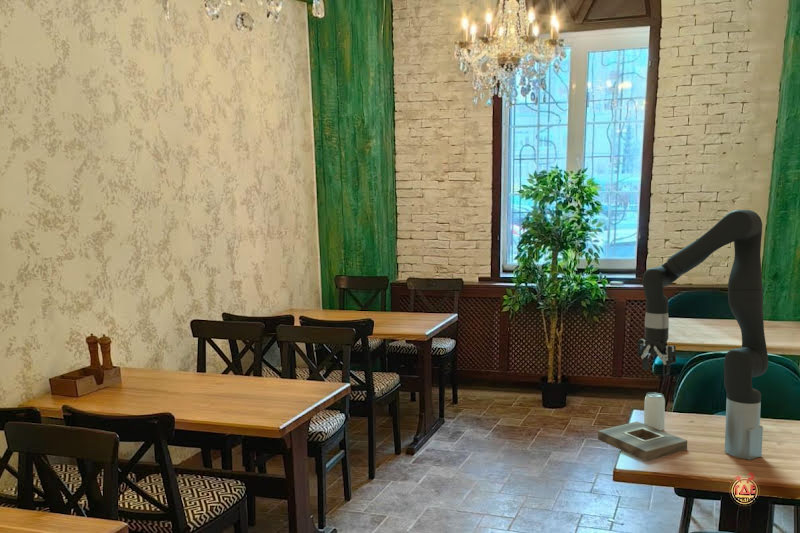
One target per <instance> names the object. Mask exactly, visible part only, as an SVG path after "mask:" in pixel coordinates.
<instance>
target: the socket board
mask: <svg viewBox="0 0 800 533" xmlns="http://www.w3.org/2000/svg"><path fill="white" fill-rule="evenodd" d="M597 440H598V441H601V442H602V443H605V444H607V445H609V446H611V447H614V448H616V449H618V450H621V451H623V452H625V453H627V454H628V455H629V454H630V455H632V456H634V457H637V458H638V459H641V460H643V461H645V462H649V461H651V460H655V459H659V458H663V457H666V456H670V455H674V454H677V453H680V452H684V451H688V440H687V439H684V438H682V437H679V436H677V435H673V434H671V433H668V432H666V431H664V430H663V431H661V430H658V429H656V428H653V427H650V426H648V425H645V424H644V422H643V423H642V422H639V421H633V422H629V423H626V424H621V425H615V426H611V427H608V428H604V429H599V430H597Z"/></svg>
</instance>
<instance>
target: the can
mask: <svg viewBox="0 0 800 533" xmlns="http://www.w3.org/2000/svg"><path fill="white" fill-rule="evenodd" d="M645 395H646V396H645V398H644V406H643V408H644V410H643V412H644V413H643V414H644V415H643V424H645V425H648V426H650V427H653V428H656V429H658V430H661V431H662V430H663V431H664V430H665V418H666V417H665V416H666V415H665V413H666V411H665V410H666V407H665V406H666V405H665V404H666V399H665V396H664V394H662V393H660V392H646V394H645Z"/></svg>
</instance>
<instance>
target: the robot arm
mask: <svg viewBox="0 0 800 533" xmlns="http://www.w3.org/2000/svg"><path fill="white" fill-rule="evenodd" d="M762 236H763V222H762V219H761V216H760V215H759V214H758V213H757V212H755V211H754V210H749V209H735V210H732V211H729V212H728V213H727V214H725V216H723V217H722V218H721V219H720V220H719V221H718V222H716V223H715V225H714V226H712V227H711V228H710V229H709V230H707V231H706V233H704V234H702V235H701V236H700V237H699V238H697V239H696V240H694V241H692V242H691V243H690V244H687V245H686V246H685V247H683V248H682V249H680V250H678V251H677V252H675V253H674V254H672V255H671V256H670V257H669V258H668V259H667V260H666V262H664V263H663V264H661V265H660V266H656V267H651V268H648V269H647V270H645V271H644V273H643V276H642V286H643V292H644V297H645V301H646V302H645V316H644V338H639V339H638V340H637V347H636V348H637V350H636V356H638V357H640V358H641V368H642V370H643V371H648V370H649V369H650V367H649V366H650V359H649V357H650V356H652V355H654V356H657V357H658V358H659V360H660V361H661V362H662V363H663V364H662V376H669V375H670V373H671V365H672V364H676V363H677V356H676V355H677V351H676V347H677V346H676V345H668V340H669V330H670V328H669V325H670V324H669V323H670V319H669V299H668V297H667V296H666V295H665V294H664V289H663V288H664V287H665V288H666V287H668V286H669V285H671V284H673V283H674V282H676V281H677V280H679V278H680V277H682V275H684V274H686V273H688V272H690V271H691V270H693V269H694V268H696V267H698V266H699V265H700V264H702V263H703V262H704V261H705V260H707V259H708V258H709V257H710V256H711V255H712V254H714V253H715V252H716V251H718V250H719V249H721V248H722V247H725V246H726V245H728V244H732V243H733V246H734V258H733V262H732V266H731V270H730V273H729V276H728V283H727V288H728V290H727V297H728V299H727V300H728V306H729V308H730V311H731V313H732V315H733V316H734V319H735V320H736V322H737V324H738V326H739V329H740V332H741V347H737V348H733V349H730V350H728V351H727V353H726V354H725V356H724V360H723V385H724V389H725V392H726V403H725V406H726V407H725V408H726V409H725V411H726V412H725V429H724V432H725V433H724V453H726V454H728V455H729V456H732V457H735V458H738V459H744V460H748V461H750V460H754V459H758V458H760V457H762V456H763V454H762V453H763V431H764V426H762V425H761V423H760V421H761V409H762V408H761V405H762V403H761V402H762V393H761V392H760V390H758V389H756V388H753V378H756V377H760V376H762V375H764V374H765V373H766V372H767V370H768V368H769V356H768V349H767V342H766V336H765V325H764V322H765V321H764V306H763V305H764V304H763V303H764V299H763V298H764V297H763V296H764V294H763V281H762V279H763V277H762V276H763V275H762V262H761V261H762V260H761V248H762V246H761V245H762V238H763V237H762Z"/></svg>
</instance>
